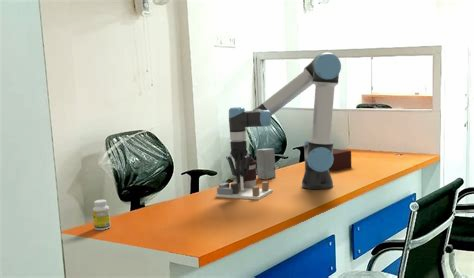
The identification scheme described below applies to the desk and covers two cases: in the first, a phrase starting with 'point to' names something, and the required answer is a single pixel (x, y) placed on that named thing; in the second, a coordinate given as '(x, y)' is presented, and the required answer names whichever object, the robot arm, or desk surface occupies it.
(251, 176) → the coffee cup
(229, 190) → the board
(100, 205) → the pill bottle
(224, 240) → the desk surface
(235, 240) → the desk surface
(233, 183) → the leg
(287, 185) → the desk surface
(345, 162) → the box
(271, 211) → the desk surface
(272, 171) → the skincare box
